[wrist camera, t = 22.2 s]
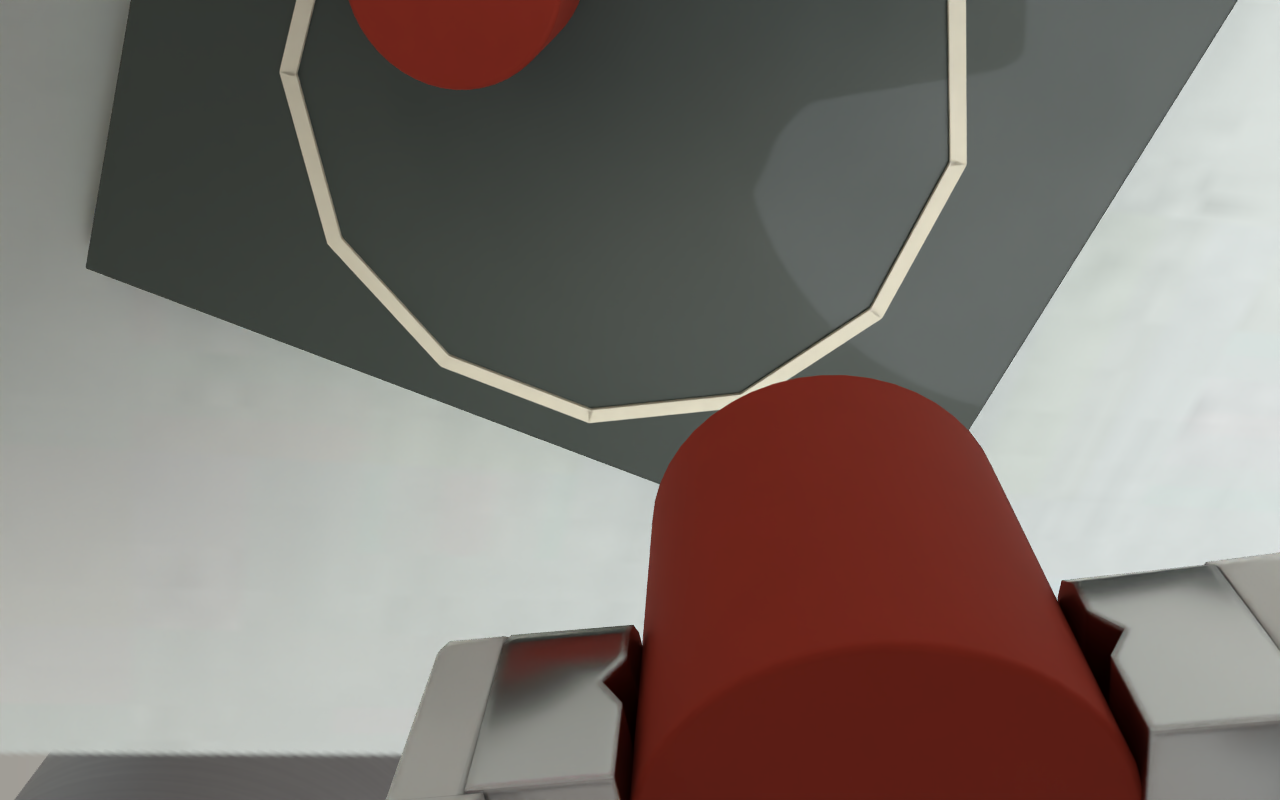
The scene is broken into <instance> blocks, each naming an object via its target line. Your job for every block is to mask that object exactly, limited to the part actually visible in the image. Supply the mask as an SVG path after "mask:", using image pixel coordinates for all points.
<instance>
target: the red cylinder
mask: <svg viewBox="0 0 1280 800" xmlns="http://www.w3.org/2000/svg"><path fill="white" fill-rule="evenodd" d="M579 1H580V0H349V3H350V5H351V8H352V11H353V14H354V16H355V18H356V20H357V22H358V24H359V26H360V28H361V29H362V31H363V32H364V34H365V35H366V37H367V38H368V40H369V41H370V42H371V44H372V45H373V46H374V47H375V48H376V50H377V51H378V52H379V53H380V54H381V55H382V56H383V57H384V58H385V59H386V60H387V61H389V62H390V63H391V64H392V65H394V66H395V67H396V68H398V69H399V70H400V71H402V72H403V73H405V74H407V75H409V76H410V77H412V78H414V79H416V80H419V81H421V82H423V83H426V84H428V85H432V86H436V87H439V88H445V89H452V90H472V89H479V88H484V87H488V86H491V85H495V84H497V83H499V82H502V81H504V80H506V79H508V78H510V77H511V76H513V75H515V74H516V73H518V72H519V71H521V70H522V69H523V68H524V67H525V66H527V65H528V64H529V63H530V62H531V61H532V60H533V59H534V58H535V57H536V56H537V55H538V54H539V53H540V52H541V51H542V50H543V49H544V48H545V47H546V46H547V45H548V44H549V43H550V42H551V41H552V40H553V39H554V38H555V37H556V35H557V34H558V33H559V32H560V31H561V30H562V29H563V28H564V27H565V26H566V24H567V23H568V21H569V20H570V18H571V17H572V16H573V14H574V12H575V10H576V8H577V6H578V4H579Z"/></svg>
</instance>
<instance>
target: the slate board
mask: <svg viewBox="0 0 1280 800" xmlns="http://www.w3.org/2000/svg"><path fill="white" fill-rule="evenodd" d="M1236 2H1237V0H580V1H579V4H578V6H577V8H576V10H575V12H574V14H573V16H572V17H571V18H570V20H569V21H568V23H567V24H566V26H565V27H564V28H563V29H562V30H561V31H560V32H559V33H558V34H557V35H556V37H555V38H554V39H553V40H552V41H551V42H550V43H549V44H548V45H547V46H546V47H545V48H544V49H543V50H542V51H541V52H540V53H539V54H538V55H537V56H536V57H535V58H534V59H533V60H532V61H531V62H530V63H529V64H528V65H527V66H525V67H524V68H523V69H522V70H521V71H519V72H518V73H516V74H515V75H513V76H511V77H510V78H508V79H506V80H504V81H502V82H499V83H497V84H495V85H491V86H488V87H484V88H479V89H472V90H452V89H445V88H439V87H436V86H432V85H428V84H426V83H423V82H421V81H419V80H416V79H414V78H412V77H410V76H409V75H407V74H405V73H403V72H402V71H400V70H399V69H398V68H396V67H395V66H394V65H392V64H391V63H390V62H389V61H387V60H386V59H385V58H384V57H383V56H382V55H381V54H380V53H379V52H378V51H377V50H376V48H375V47H374V46H373V45H372V44H371V42H370V41H369V40H368V38H367V37H366V35H365V34H364V32H363V31H362V29H361V28H360V26H359V24H358V22H357V20H356V18H355V16H354V14H353V11H352V8H351V5H350V3H349V0H131V3H130V9H129V15H128V21H127V26H126V32H125V38H124V44H123V50H122V56H121V62H120V68H119V74H118V80H117V86H116V92H115V97H114V103H113V109H112V115H111V121H110V127H109V133H108V139H107V145H106V151H105V157H104V163H103V168H102V174H101V180H100V186H99V192H98V198H97V204H96V210H95V216H94V222H93V228H92V234H91V239H90V245H89V251H88V257H87V263H86V268H87V269H89V270H92V271H95V272H97V273H100V274H103V275H105V276H108V277H111V278H113V279H116V280H119V281H121V282H124V283H127V284H129V285H132V286H134V287H137V288H140V289H142V290H145V291H148V292H150V293H153V294H156V295H158V296H161V297H164V298H166V299H169V300H172V301H174V302H177V303H180V304H182V305H185V306H188V307H190V308H193V309H196V310H198V311H201V312H204V313H206V314H209V315H212V316H214V317H217V318H220V319H222V320H225V321H228V322H230V323H233V324H235V325H238V326H241V327H243V328H246V329H249V330H251V331H254V332H257V333H259V334H262V335H265V336H267V337H270V338H273V339H275V340H278V341H281V342H283V343H286V344H289V345H291V346H294V347H297V348H299V349H302V350H305V351H307V352H310V353H313V354H315V355H318V356H321V357H323V358H326V359H328V360H331V361H334V362H336V363H339V364H342V365H344V366H347V367H350V368H352V369H355V370H358V371H360V372H363V373H366V374H368V375H371V376H374V377H376V378H379V379H382V380H384V381H387V382H390V383H392V384H395V385H398V386H400V387H403V388H406V389H408V390H411V391H414V392H416V393H419V394H422V395H424V396H427V397H429V398H432V399H435V400H437V401H440V402H443V403H445V404H448V405H451V406H453V407H456V408H459V409H461V410H464V411H467V412H469V413H472V414H475V415H477V416H480V417H483V418H485V419H488V420H491V421H493V422H496V423H499V424H501V425H504V426H507V427H509V428H512V429H515V430H517V431H520V432H522V433H525V434H528V435H530V436H533V437H536V438H538V439H541V440H544V441H546V442H549V443H552V444H554V445H557V446H560V447H562V448H565V449H568V450H570V451H573V452H576V453H578V454H581V455H584V456H586V457H589V458H592V459H594V460H597V461H600V462H602V463H605V464H608V465H610V466H613V467H616V468H618V469H621V470H623V471H626V472H629V473H631V474H634V475H637V476H639V477H642V478H645V479H647V480H650V481H653V482H655V483H658V484H660V483H661V480H662V478H663V476H664V474H665V472H666V470H667V467H668V465H669V463H670V462H671V460H672V459H673V457H674V456H675V454H676V453H677V451H678V450H679V448H680V447H681V445H682V444H683V443H684V442H685V441H686V440H687V438H688V437H689V436H690V435H691V434H692V433H693V432H694V430H696V429H697V428H698V427H699V426H700V425H701V424H702V423H704V422H705V421H706V420H707V419H708V418H709V417H710V416H712V415H713V414H714V413H716V412H717V411H719V410H720V409H722V408H723V407H725V406H726V405H728V404H729V403H731V402H733V401H735V400H737V399H738V398H740V397H742V396H744V395H746V394H748V393H750V392H752V391H755V390H758V389H761V388H763V387H766V386H769V385H771V384H774V383H778V382H783V381H787V380H791V379H795V378H801V377H810V376H818V375H849V376H857V377H866V378H872V379H876V380H880V381H884V382H888V383H892V384H896V385H898V386H901V387H903V388H906V389H909V390H911V391H914V392H916V393H918V394H920V395H922V396H924V397H926V398H927V399H929V400H931V401H933V402H935V403H937V404H938V405H939V406H941V407H942V408H943V409H945V410H946V411H947V412H949V413H950V414H952V415H953V416H954V417H955V418H956V419H957V420H958V421H959V422H960V423H961V424H962V425H963V426H964V427H965V428H966V429H968V430H969V429H970V427H971V426H972V424H973V422H974V421H975V419H976V418H977V416H978V414H979V413H980V411H981V410H982V408H983V406H984V405H985V403H986V402H987V400H988V398H989V397H990V395H991V394H992V392H993V390H994V389H995V387H996V386H997V384H998V382H999V381H1000V379H1001V378H1002V376H1003V374H1004V373H1005V371H1006V370H1007V368H1008V366H1009V365H1010V363H1011V362H1012V360H1013V358H1014V357H1015V355H1016V354H1017V352H1018V350H1019V349H1020V347H1021V346H1022V344H1023V342H1024V341H1025V339H1026V338H1027V336H1028V334H1029V333H1030V331H1031V330H1032V328H1033V327H1034V325H1035V323H1036V322H1037V320H1038V319H1039V317H1040V315H1041V314H1042V312H1043V311H1044V309H1045V307H1046V306H1047V304H1048V303H1049V301H1050V299H1051V298H1052V296H1053V295H1054V293H1055V291H1056V290H1057V288H1058V287H1059V285H1060V283H1061V282H1062V280H1063V279H1064V277H1065V275H1066V274H1067V272H1068V271H1069V269H1070V267H1071V266H1072V264H1073V263H1074V261H1075V259H1076V258H1077V256H1078V255H1079V253H1080V251H1081V250H1082V248H1083V247H1084V245H1085V243H1086V242H1087V240H1088V239H1089V237H1090V235H1091V234H1092V232H1093V231H1094V229H1095V227H1096V226H1097V224H1098V223H1099V221H1100V219H1101V218H1102V216H1103V215H1104V213H1105V211H1106V210H1107V208H1108V207H1109V205H1110V203H1111V202H1112V200H1113V199H1114V197H1115V195H1116V194H1117V192H1118V191H1119V189H1120V187H1121V186H1122V184H1123V183H1124V181H1125V179H1126V178H1127V176H1128V175H1129V173H1130V171H1131V170H1132V168H1133V167H1134V165H1135V163H1136V162H1137V160H1138V159H1139V157H1140V155H1141V154H1142V152H1143V151H1144V149H1145V147H1146V146H1147V144H1148V143H1149V141H1150V139H1151V138H1152V136H1153V135H1154V133H1155V131H1156V130H1157V128H1158V127H1159V125H1160V123H1161V122H1162V120H1163V119H1164V117H1165V115H1166V114H1167V112H1168V111H1169V109H1170V107H1171V106H1172V104H1173V103H1174V101H1175V100H1176V98H1177V96H1178V95H1179V93H1180V92H1181V90H1182V88H1183V87H1184V85H1185V84H1186V82H1187V80H1188V79H1189V77H1190V76H1191V74H1192V72H1193V71H1194V69H1195V68H1196V66H1197V64H1198V63H1199V61H1200V60H1201V58H1202V56H1203V55H1204V53H1205V52H1206V50H1207V48H1208V47H1209V45H1210V44H1211V42H1212V40H1213V39H1214V37H1215V36H1216V34H1217V32H1218V31H1219V29H1220V28H1221V26H1222V24H1223V23H1224V21H1225V20H1226V18H1227V16H1228V15H1229V13H1230V12H1231V10H1232V8H1233V7H1234V5H1235V4H1236Z"/></svg>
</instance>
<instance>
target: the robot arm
mask: <svg viewBox="0 0 1280 800" xmlns="http://www.w3.org/2000/svg"><path fill="white" fill-rule="evenodd" d="M1058 603H1059V605H1060V607H1061V609H1062V611H1063V613H1064V615H1065V618H1066V620H1067V622H1068V624H1069V626H1070V628H1071V630H1072V632H1073V634H1074V636H1075V638H1076V640H1077V642H1078V644H1079V646H1080V648H1081V650H1082V652H1083V654H1084V656H1085V658H1086V661H1087V663H1088V665H1089V667H1090V669H1091V671H1092V673H1093V675H1094V677H1095V679H1096V681H1097V683H1098V685H1099V687H1100V689H1101V691H1102V693H1103V695H1104V697H1105V699H1106V701H1107V704H1108V706H1109V708H1110V710H1111V712H1112V714H1113V716H1114V718H1115V720H1116V722H1117V724H1118V726H1119V728H1120V730H1121V732H1122V734H1123V736H1124V738H1125V740H1126V742H1127V744H1128V747H1129V749H1130V751H1131V753H1132V755H1133V757H1134V759H1135V761H1136V764H1137V767H1138V770H1139V773H1140V780H1141V786H1142V793H1141V800H1280V553H1272V554H1265V555H1257V556H1249V557H1242V558H1234V559H1227V560H1219V561H1211V562H1206V563H1205V564H1204V565H1197V566H1188V567H1179V568H1170V569H1161V570H1152V571H1143V572H1134V573H1125V574H1116V575H1107V576H1098V577H1089V578H1079V579H1070V580H1062V581H1061V586H1060V590H1059V594H1058ZM642 648H643V647H642V643H641V639H640V635H639V632H638V631H637V629H636V628H635V627H634V625H627V626H615V627H603V628H591V629H579V630H567V631H555V632H543V633H531V634H519V635H511V636H510V637H504V636H502V637H492V638H481V639H471V640H460V641H450V642H449V643H447V644H446V645H445V646H444V647H443V648H442V649H441V650H440V651H439V652H438V654H437V656H436V659H435V662H434V665H433V668H432V670H431V673H430V676H429V679H428V682H427V685H426V687H425V690H424V693H423V696H422V699H421V702H420V705H419V707H418V710H417V713H416V716H415V719H414V722H413V724H412V727H411V730H410V733H409V736H408V739H407V741H406V744H405V747H404V750H403V753H402V756H401V759H400V761H399V764H398V767H397V770H396V773H395V776H394V778H393V781H392V784H391V787H390V790H389V793H388V795H387V798H386V800H630V796H631V784H632V772H633V759H634V741H635V729H636V717H637V708H638V698H639V686H640V673H641V660H642Z"/></svg>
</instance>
